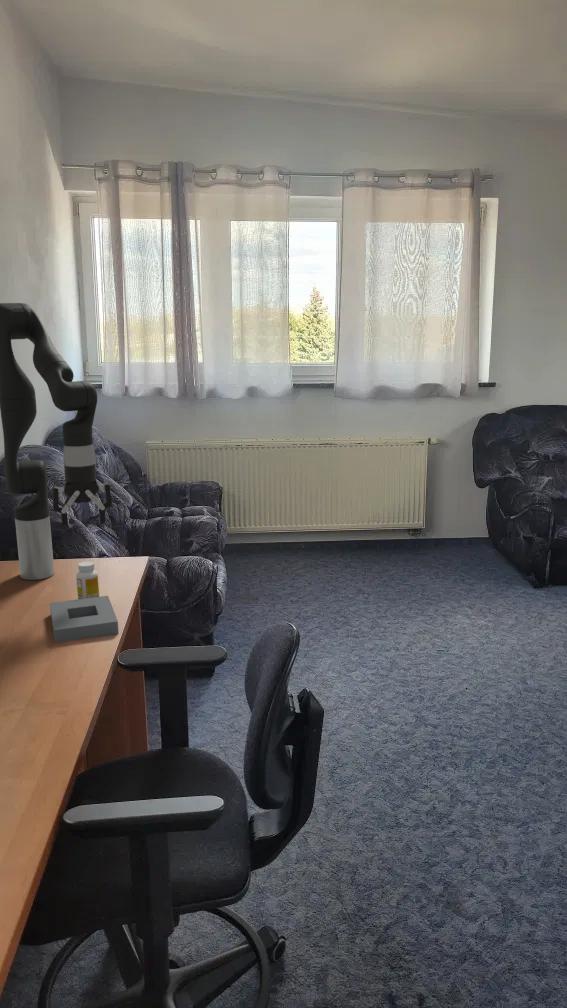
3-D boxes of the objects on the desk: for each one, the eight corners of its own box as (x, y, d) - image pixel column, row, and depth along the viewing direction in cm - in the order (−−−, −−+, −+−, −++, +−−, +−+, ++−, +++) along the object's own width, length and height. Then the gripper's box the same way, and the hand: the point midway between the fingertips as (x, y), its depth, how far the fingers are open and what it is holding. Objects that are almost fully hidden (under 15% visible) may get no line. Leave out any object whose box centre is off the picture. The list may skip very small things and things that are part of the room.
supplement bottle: (102, 596, 190) (100, 560, 188) (95, 603, 185) (92, 567, 183) (82, 595, 190) (80, 560, 188) (74, 602, 185) (72, 566, 183)
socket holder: (50, 614, 178) (49, 602, 177) (108, 606, 182) (108, 595, 182) (55, 642, 161) (53, 630, 160) (118, 633, 166) (117, 621, 165)
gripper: (50, 467, 174) (55, 531, 177) (110, 463, 178) (114, 526, 182) (48, 461, 180) (53, 524, 184) (106, 458, 185) (110, 519, 189)
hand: (84, 525), depth 183 cm, fingers open, 8 cm apart
